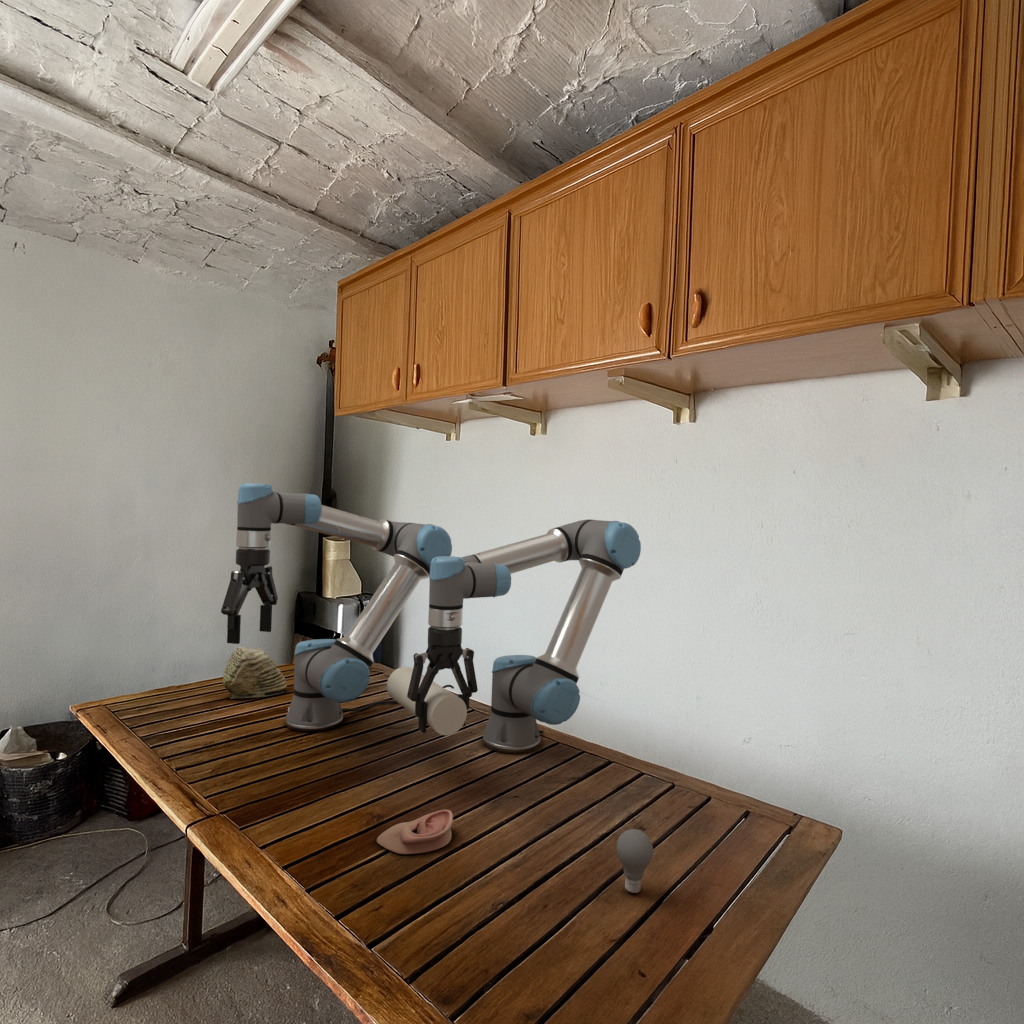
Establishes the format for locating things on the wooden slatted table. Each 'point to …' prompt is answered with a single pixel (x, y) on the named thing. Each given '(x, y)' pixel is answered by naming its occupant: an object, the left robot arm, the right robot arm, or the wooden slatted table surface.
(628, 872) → the light bulb
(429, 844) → the anatomical model
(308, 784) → the wooden slatted table surface
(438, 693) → the rod
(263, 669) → the fossil
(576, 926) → the wooden slatted table surface
